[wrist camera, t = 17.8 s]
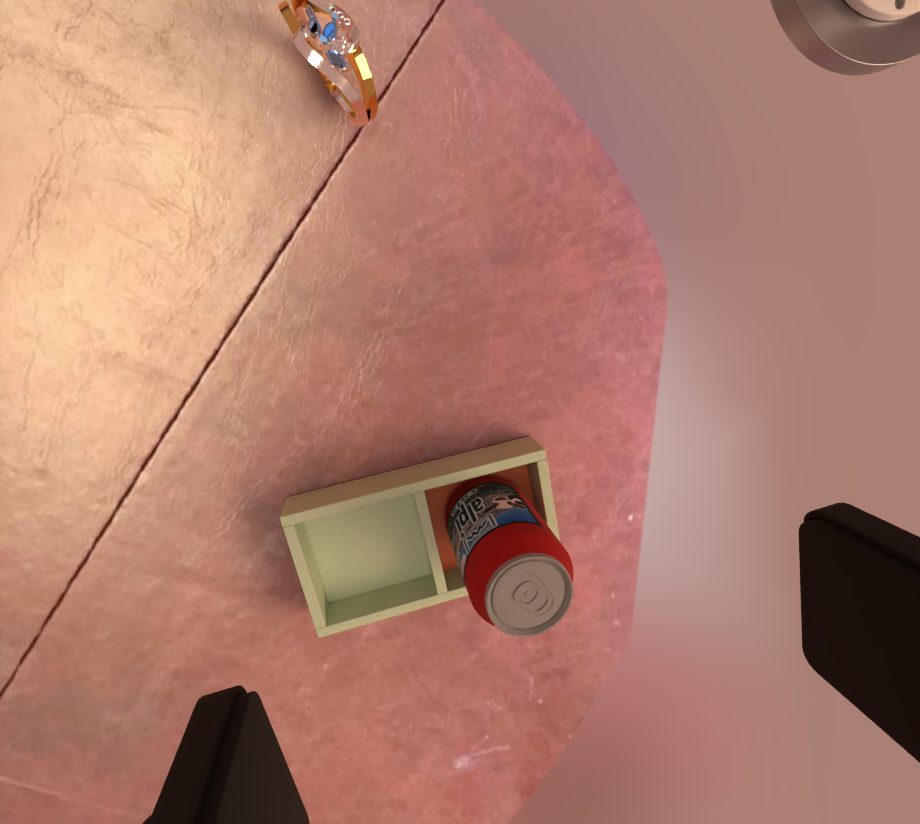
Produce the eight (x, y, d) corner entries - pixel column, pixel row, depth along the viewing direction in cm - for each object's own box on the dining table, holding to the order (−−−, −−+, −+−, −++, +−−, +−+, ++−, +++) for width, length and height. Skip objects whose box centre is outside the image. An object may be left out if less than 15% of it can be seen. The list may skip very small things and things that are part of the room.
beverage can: (482, 455, 41) (528, 523, 29) (541, 504, 43) (606, 585, 31) (425, 519, 41) (450, 610, 30) (486, 564, 43) (531, 666, 32)
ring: (384, 126, 35) (391, 82, 27) (344, 152, 35) (339, 115, 27) (322, 18, 33) (310, -62, 25) (279, 46, 33) (254, -26, 25)
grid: (548, 545, 45) (564, 567, 41) (321, 609, 42) (318, 638, 39) (530, 435, 42) (545, 449, 39) (286, 497, 40) (278, 517, 36)
